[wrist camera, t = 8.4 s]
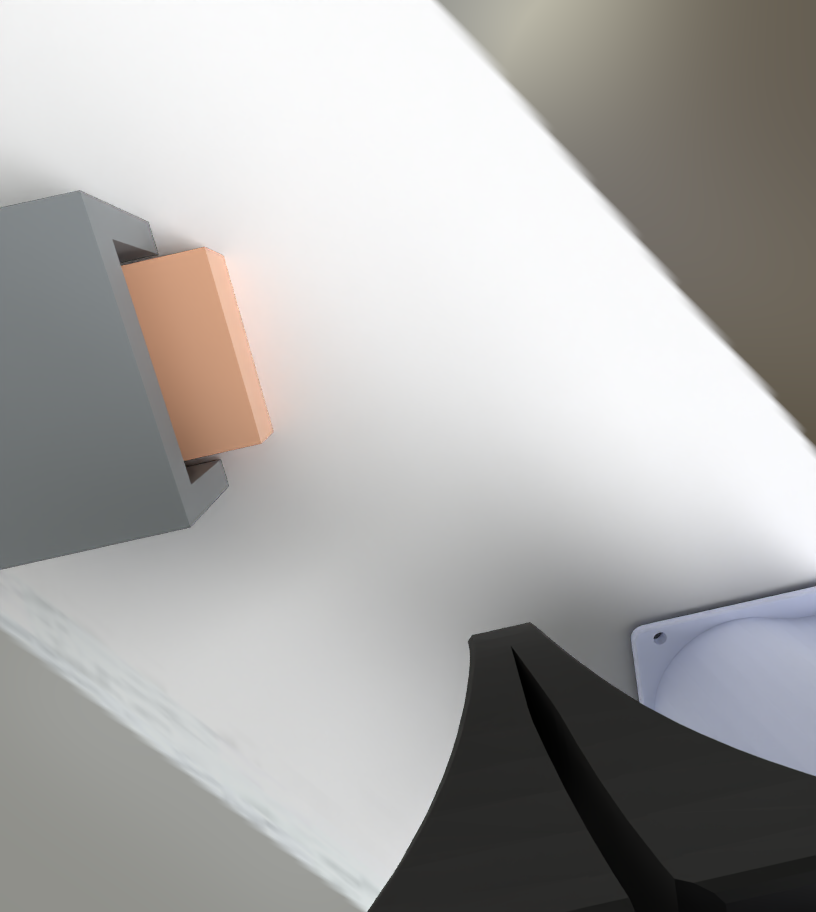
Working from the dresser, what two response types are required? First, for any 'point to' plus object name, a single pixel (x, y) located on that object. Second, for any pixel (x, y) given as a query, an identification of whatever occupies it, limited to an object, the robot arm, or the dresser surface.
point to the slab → (199, 351)
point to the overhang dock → (82, 390)
